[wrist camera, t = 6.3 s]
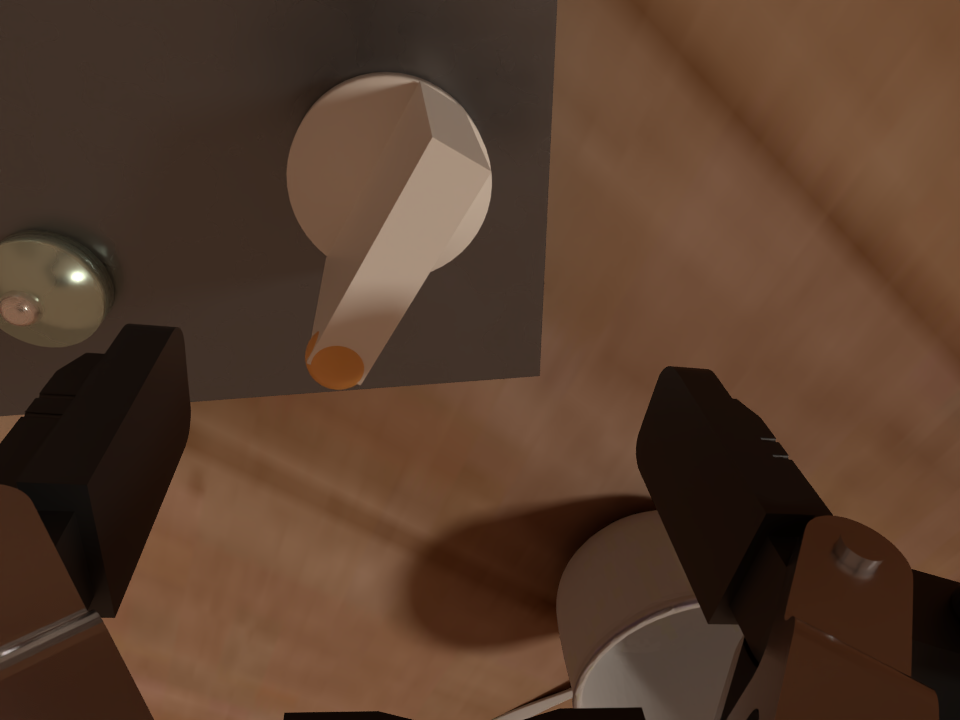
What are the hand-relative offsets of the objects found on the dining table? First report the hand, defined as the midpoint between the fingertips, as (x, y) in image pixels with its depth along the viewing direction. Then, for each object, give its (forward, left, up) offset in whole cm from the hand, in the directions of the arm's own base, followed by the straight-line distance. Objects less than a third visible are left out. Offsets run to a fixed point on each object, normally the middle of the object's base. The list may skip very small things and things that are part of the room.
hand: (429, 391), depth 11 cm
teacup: (-12, +22, -14) cm, 29 cm away
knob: (+1, 0, -11) cm, 11 cm away
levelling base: (+8, -3, -14) cm, 16 cm away
